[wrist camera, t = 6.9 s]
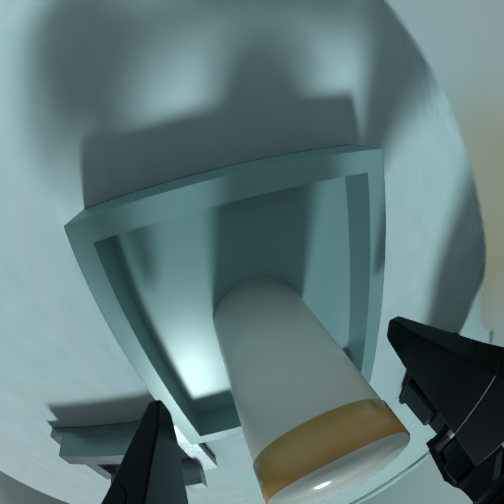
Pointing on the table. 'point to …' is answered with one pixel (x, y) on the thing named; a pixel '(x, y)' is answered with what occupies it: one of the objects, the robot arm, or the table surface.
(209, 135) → the table surface
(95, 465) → the clip rails
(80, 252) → the tray
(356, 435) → the cylinder
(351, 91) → the table surface
